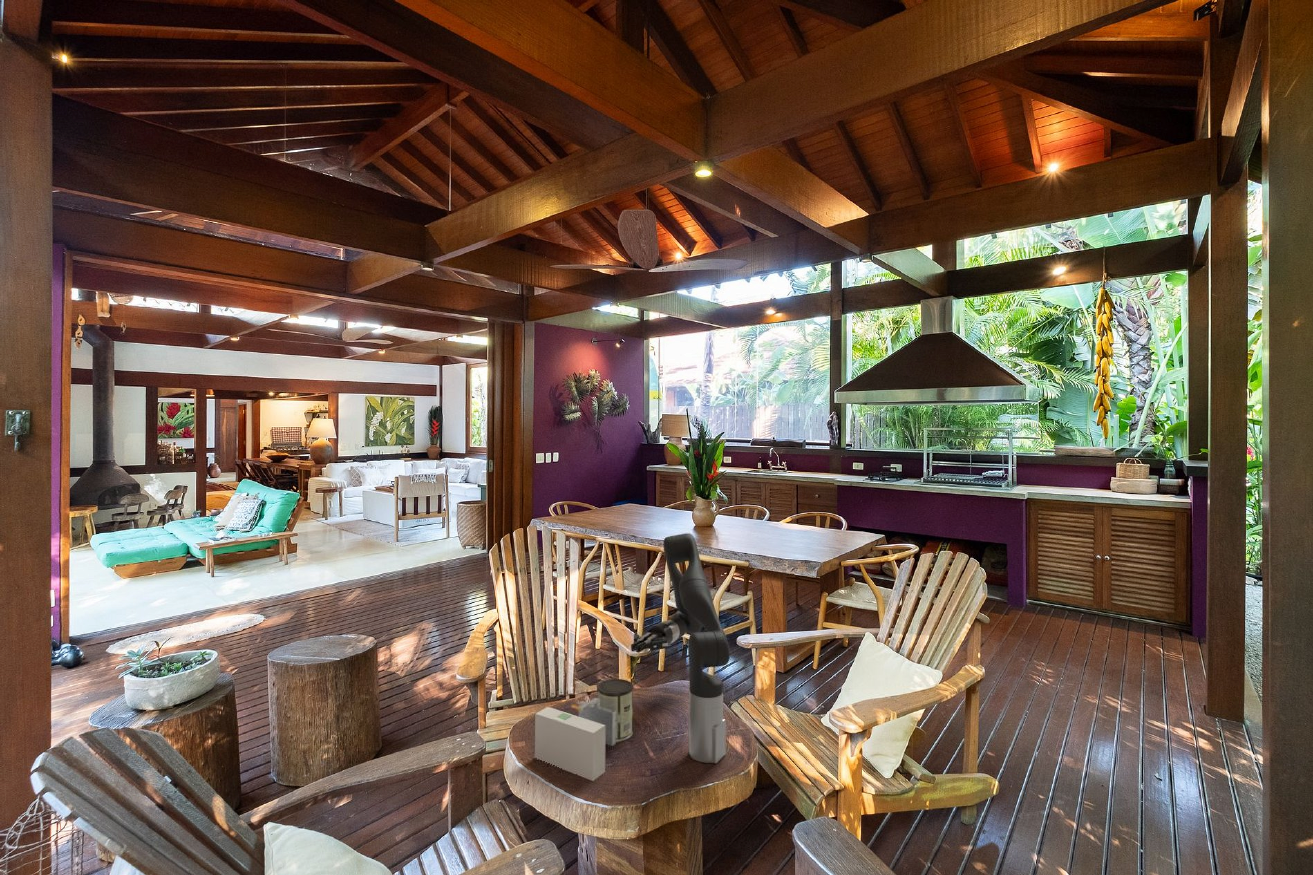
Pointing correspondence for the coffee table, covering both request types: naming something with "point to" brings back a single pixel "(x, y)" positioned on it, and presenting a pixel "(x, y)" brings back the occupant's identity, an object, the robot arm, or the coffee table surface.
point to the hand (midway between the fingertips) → (634, 648)
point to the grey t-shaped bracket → (599, 717)
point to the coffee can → (618, 704)
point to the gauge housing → (570, 742)
